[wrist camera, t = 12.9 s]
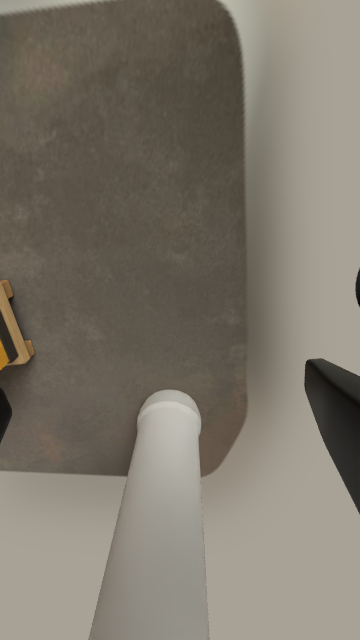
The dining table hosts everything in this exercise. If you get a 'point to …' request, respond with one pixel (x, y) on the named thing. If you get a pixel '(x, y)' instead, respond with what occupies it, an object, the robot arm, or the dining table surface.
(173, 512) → the bottle
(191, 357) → the dining table surface
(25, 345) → the thin tan notched panel
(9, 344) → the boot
